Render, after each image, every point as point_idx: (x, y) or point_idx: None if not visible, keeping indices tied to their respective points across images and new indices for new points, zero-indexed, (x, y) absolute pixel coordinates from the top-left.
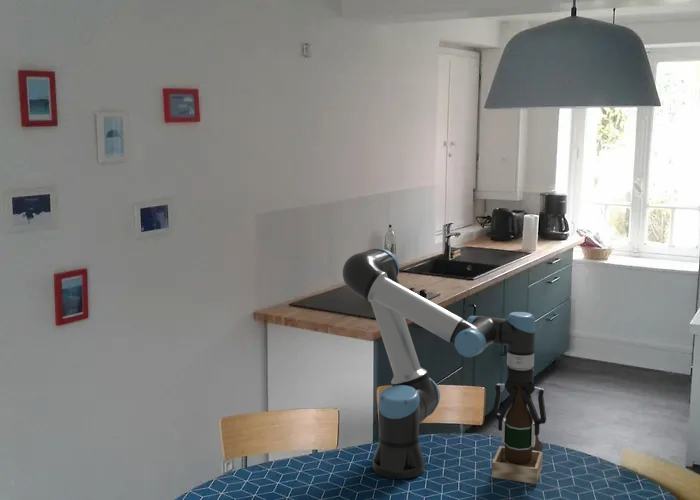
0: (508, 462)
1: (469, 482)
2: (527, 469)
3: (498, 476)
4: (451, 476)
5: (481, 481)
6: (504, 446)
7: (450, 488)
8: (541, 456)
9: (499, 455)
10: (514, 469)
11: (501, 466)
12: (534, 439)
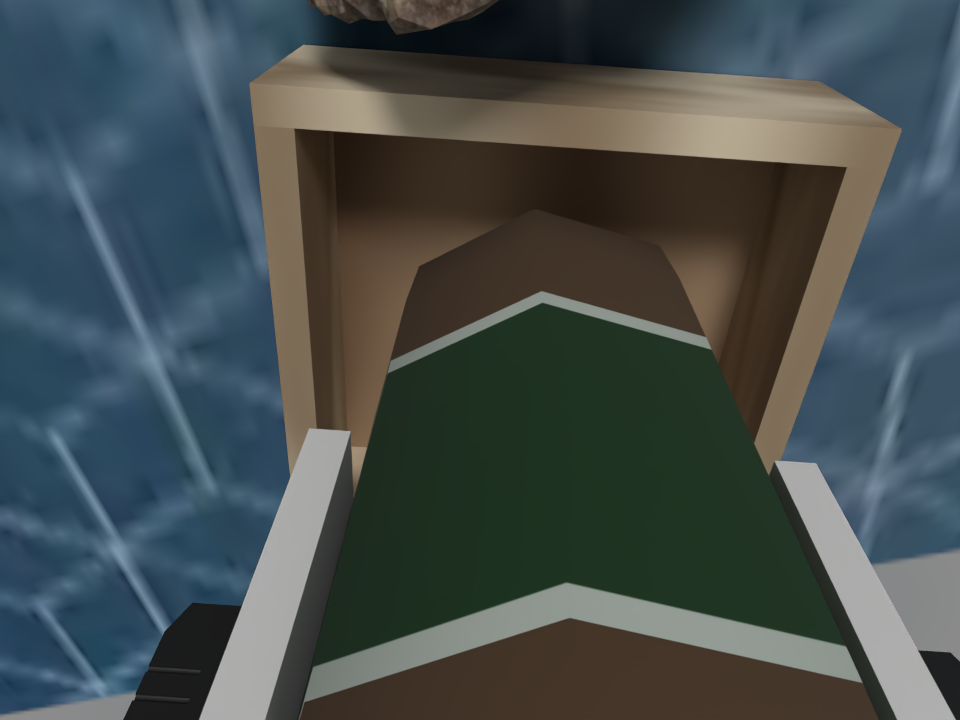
0: (427, 175)
1: (197, 551)
2: None
3: None
4: (33, 502)
5: (273, 522)
6: (313, 3)
7: (117, 637)
8: (847, 262)
9: (316, 295)
10: None
11: None
12: None
